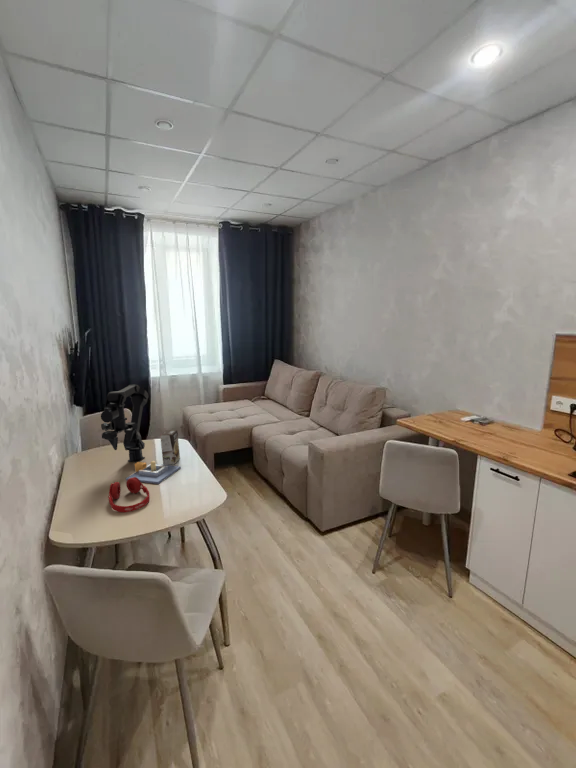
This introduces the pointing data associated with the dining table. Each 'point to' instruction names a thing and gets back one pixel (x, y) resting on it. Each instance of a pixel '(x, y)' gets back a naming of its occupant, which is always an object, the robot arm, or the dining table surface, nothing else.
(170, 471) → the keeper
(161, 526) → the dining table surface
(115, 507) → the headphones
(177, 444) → the coffee box
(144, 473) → the grey frame with tab
